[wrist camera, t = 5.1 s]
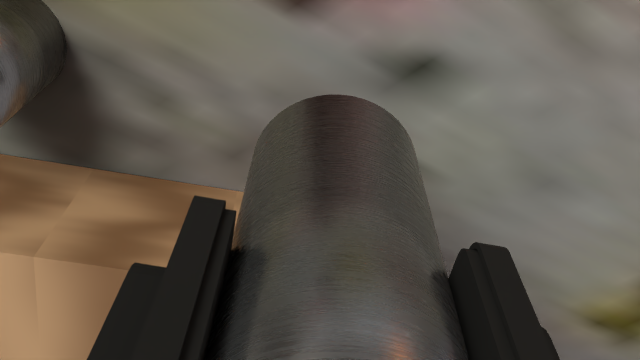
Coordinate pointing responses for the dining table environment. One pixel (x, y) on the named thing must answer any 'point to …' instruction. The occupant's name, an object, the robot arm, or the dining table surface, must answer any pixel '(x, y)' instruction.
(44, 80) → the short pin
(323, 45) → the dining table surface
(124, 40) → the dining table surface
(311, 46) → the dining table surface
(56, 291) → the hole block
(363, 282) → the tall pin
